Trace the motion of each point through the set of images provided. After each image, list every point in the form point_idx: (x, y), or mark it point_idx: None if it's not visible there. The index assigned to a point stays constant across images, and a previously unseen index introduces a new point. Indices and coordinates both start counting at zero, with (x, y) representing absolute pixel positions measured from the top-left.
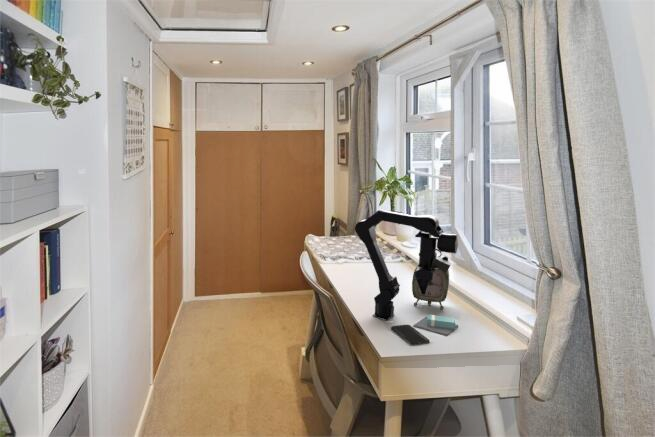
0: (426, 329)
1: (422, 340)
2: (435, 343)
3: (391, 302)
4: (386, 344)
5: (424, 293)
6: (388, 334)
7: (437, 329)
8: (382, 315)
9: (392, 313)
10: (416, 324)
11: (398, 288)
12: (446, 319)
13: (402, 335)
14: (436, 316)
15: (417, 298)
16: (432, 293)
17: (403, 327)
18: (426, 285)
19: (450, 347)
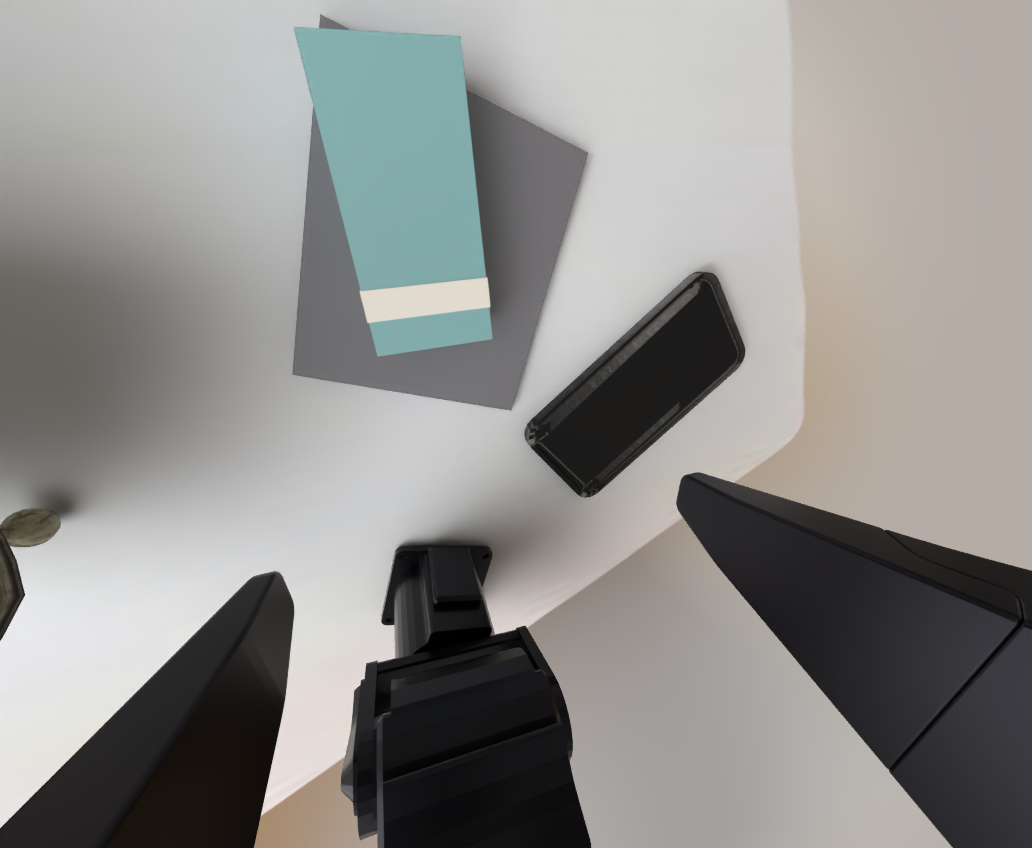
0: (535, 320)
1: (705, 312)
2: (704, 233)
3: (457, 631)
4: (735, 447)
5: (712, 485)
6: (646, 476)
7: (522, 241)
8: (480, 583)
9: (449, 560)
10: (495, 397)
11: (413, 746)
12: (412, 156)
13: (667, 419)
14: (384, 272)
15: (8, 558)
16: None
17: (570, 446)
18: (935, 559)
19: (743, 125)
